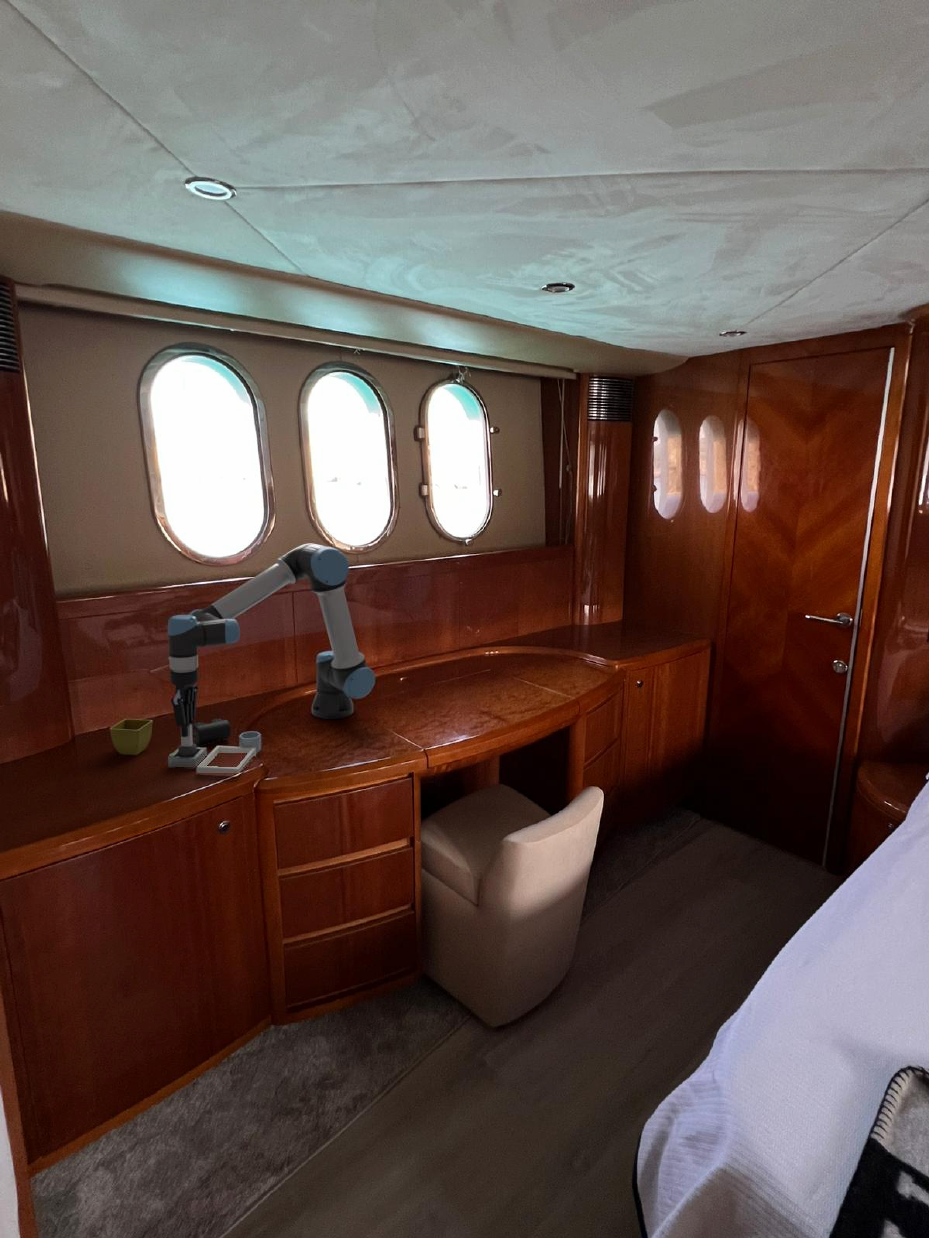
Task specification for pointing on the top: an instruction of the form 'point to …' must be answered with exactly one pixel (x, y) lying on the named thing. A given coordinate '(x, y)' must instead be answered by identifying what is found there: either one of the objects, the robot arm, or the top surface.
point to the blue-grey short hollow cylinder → (250, 740)
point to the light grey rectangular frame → (226, 749)
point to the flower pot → (131, 735)
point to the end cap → (211, 731)
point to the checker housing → (186, 759)
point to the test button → (187, 751)
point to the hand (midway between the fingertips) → (187, 745)
